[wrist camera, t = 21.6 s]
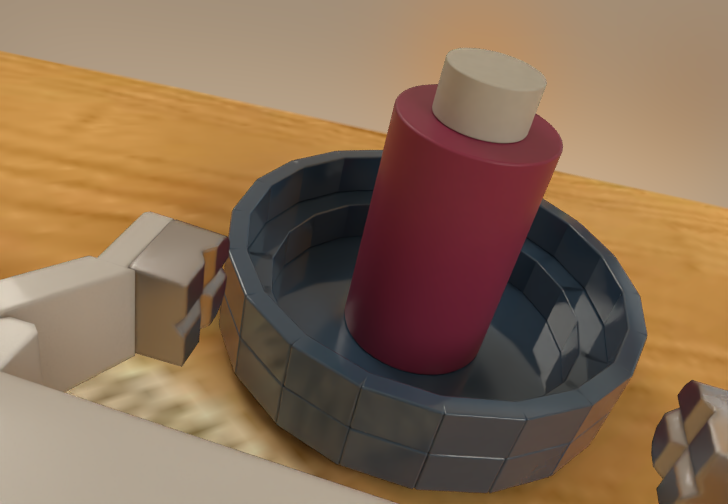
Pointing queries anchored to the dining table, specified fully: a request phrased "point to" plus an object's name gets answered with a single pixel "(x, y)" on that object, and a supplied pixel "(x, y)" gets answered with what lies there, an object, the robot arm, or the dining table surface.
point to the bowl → (416, 391)
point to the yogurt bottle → (450, 211)
